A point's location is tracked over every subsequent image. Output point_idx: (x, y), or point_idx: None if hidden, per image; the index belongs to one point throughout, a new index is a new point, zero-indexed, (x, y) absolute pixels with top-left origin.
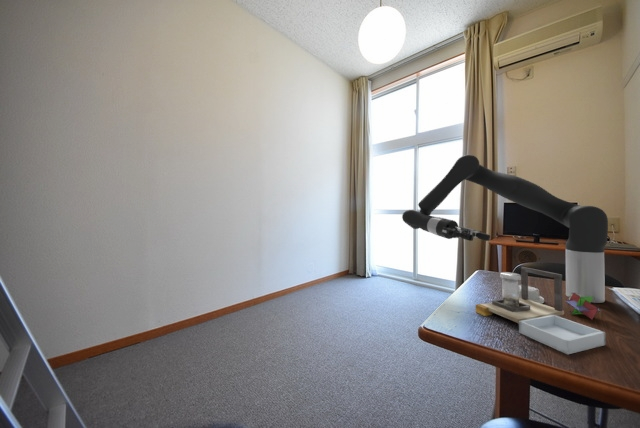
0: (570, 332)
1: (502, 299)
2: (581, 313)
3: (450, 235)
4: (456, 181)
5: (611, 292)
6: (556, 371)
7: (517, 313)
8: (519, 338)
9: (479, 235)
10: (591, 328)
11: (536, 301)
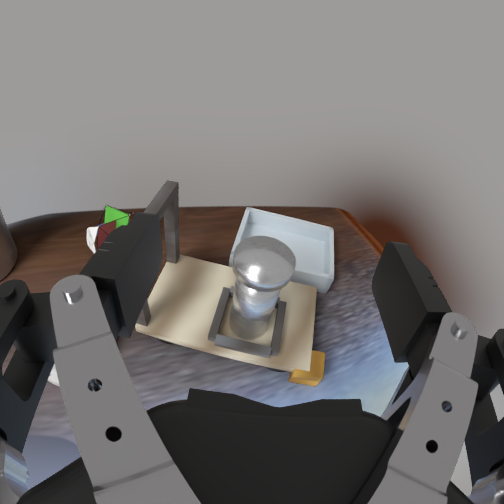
0: None
1: (262, 328)
2: None
3: (494, 413)
4: None
5: None
6: (377, 243)
7: (284, 298)
8: (346, 286)
9: (128, 298)
10: (247, 216)
11: None
